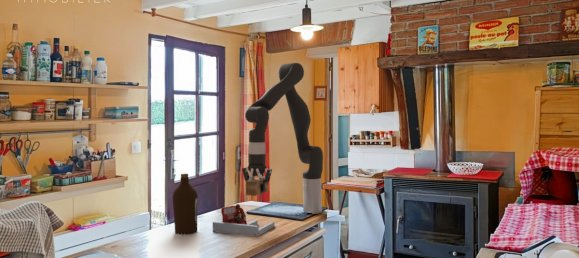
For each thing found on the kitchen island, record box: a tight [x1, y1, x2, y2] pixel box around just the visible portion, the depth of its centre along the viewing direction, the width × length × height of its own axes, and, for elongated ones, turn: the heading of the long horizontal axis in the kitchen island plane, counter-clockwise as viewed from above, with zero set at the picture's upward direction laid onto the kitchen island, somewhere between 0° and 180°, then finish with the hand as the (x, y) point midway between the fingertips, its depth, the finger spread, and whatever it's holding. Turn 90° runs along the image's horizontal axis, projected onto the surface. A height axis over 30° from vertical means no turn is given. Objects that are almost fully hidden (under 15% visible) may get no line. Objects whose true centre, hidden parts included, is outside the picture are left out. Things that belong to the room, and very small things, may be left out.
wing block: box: [245, 177, 269, 197], centre depth 201 cm, size 12×4×6 cm, turn 155°
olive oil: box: [171, 173, 199, 235], centre depth 198 cm, size 11×11×25 cm
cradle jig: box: [212, 219, 275, 237], centre depth 202 cm, size 16×22×4 cm
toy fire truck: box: [220, 203, 248, 225], centre depth 203 cm, size 7×12×10 cm, turn 134°
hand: (257, 191), depth 201 cm, fingers closed on wing block, 4 cm apart
